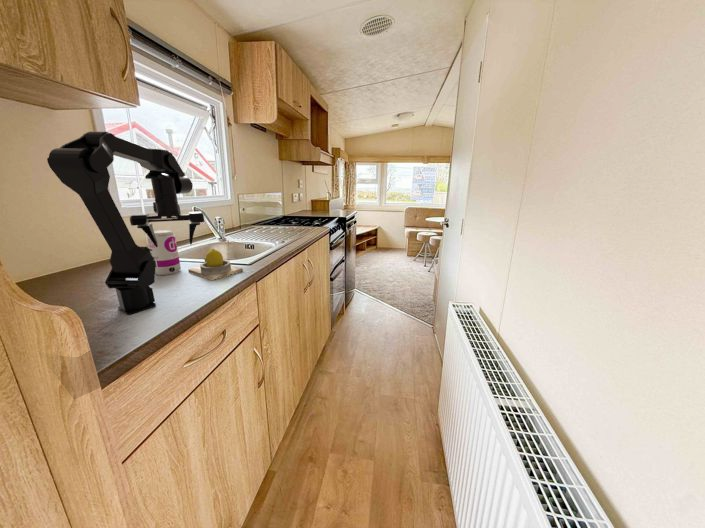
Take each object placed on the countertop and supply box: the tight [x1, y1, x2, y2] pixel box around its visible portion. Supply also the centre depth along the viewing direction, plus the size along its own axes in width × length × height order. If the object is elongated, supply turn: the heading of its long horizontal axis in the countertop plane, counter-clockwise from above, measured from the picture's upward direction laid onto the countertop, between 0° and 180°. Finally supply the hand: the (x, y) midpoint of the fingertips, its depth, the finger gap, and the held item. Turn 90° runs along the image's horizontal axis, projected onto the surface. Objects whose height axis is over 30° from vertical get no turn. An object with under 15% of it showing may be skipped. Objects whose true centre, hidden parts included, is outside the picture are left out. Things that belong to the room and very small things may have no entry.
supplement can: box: [146, 229, 182, 276], centre depth 99 cm, size 8×8×15 cm
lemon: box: [205, 248, 224, 267], centre depth 99 cm, size 6×6×8 cm
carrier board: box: [188, 256, 244, 281], centre depth 102 cm, size 12×15×4 cm
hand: (174, 245), depth 88 cm, fingers open, 9 cm apart
